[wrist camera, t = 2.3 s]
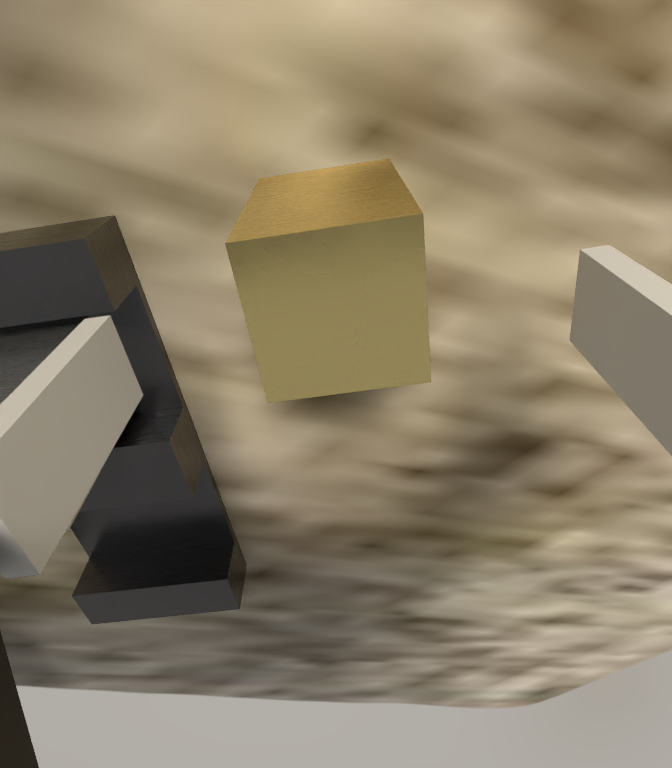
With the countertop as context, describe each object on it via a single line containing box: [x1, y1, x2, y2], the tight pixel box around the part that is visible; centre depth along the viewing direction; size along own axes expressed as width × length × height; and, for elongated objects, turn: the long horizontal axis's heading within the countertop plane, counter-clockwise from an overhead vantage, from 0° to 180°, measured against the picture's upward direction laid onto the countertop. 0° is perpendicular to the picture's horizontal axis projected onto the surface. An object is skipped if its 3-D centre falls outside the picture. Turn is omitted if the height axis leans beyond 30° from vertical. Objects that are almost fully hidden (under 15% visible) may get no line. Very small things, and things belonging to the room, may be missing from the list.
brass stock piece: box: [225, 159, 431, 403], centre depth 17 cm, size 5×5×8 cm
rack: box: [0, 216, 246, 624], centre depth 25 cm, size 22×9×3 cm, turn 8°
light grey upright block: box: [0, 314, 110, 531], centre depth 20 cm, size 5×5×8 cm
